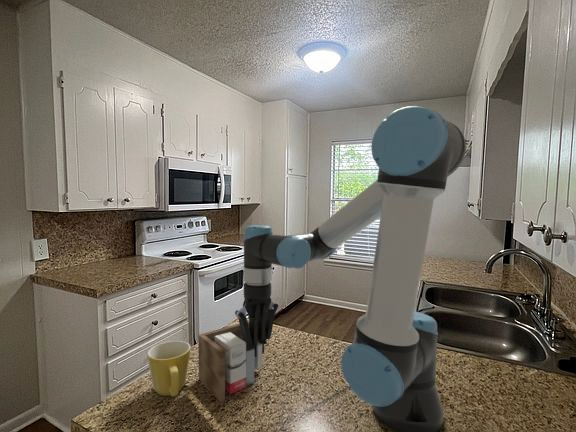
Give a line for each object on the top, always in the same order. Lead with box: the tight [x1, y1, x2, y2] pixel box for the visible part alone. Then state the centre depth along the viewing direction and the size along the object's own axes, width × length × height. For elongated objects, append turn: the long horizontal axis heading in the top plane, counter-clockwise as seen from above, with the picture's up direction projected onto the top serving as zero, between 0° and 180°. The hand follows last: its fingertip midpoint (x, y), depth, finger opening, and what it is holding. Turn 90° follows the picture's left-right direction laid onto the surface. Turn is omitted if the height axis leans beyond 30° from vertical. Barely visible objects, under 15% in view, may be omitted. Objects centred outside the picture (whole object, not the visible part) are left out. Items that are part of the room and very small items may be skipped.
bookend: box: [246, 343, 256, 387], centre depth 84 cm, size 8×2×9 cm, turn 40°
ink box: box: [215, 332, 247, 395], centre depth 82 cm, size 8×5×12 cm, turn 40°
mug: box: [147, 340, 192, 397], centre depth 79 cm, size 14×10×10 cm
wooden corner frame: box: [198, 320, 249, 403], centre depth 84 cm, size 12×18×13 cm, turn 130°
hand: (257, 366), depth 88 cm, fingers closed
